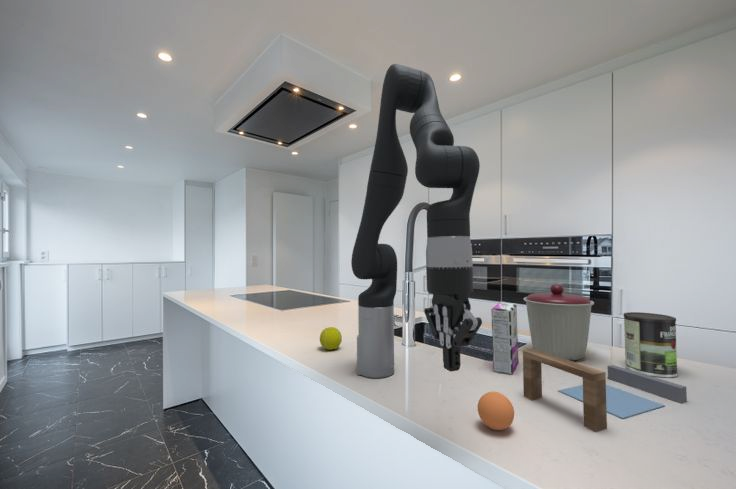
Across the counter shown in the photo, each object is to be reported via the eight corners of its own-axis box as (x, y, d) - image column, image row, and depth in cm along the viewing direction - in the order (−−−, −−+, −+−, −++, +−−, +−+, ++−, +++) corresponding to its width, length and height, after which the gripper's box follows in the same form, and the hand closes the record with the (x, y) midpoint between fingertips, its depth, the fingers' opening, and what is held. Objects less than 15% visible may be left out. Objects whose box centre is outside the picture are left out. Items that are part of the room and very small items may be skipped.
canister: (517, 357, 95) (515, 285, 96) (533, 343, 109) (531, 280, 109) (591, 371, 83) (589, 289, 84) (599, 354, 97) (597, 283, 98)
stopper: (681, 403, 65) (680, 388, 65) (607, 378, 78) (607, 366, 78) (686, 401, 66) (686, 386, 66) (613, 377, 79) (612, 365, 79)
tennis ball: (323, 353, 100) (323, 330, 100) (317, 347, 106) (317, 326, 106) (344, 350, 103) (344, 328, 103) (337, 345, 109) (337, 324, 109)
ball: (481, 436, 54) (480, 399, 54) (475, 417, 60) (474, 385, 60) (519, 438, 53) (518, 401, 54) (509, 420, 59) (508, 387, 59)
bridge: (595, 432, 55) (593, 374, 55) (523, 396, 69) (522, 350, 69) (607, 428, 56) (605, 372, 57) (534, 393, 70) (533, 348, 70)
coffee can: (686, 374, 81) (684, 317, 81) (664, 380, 77) (662, 321, 77) (638, 361, 90) (637, 310, 91) (616, 367, 86) (614, 313, 87)
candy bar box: (499, 359, 93) (498, 302, 94) (518, 362, 90) (517, 303, 91) (491, 371, 84) (490, 307, 84) (512, 375, 81) (511, 309, 81)
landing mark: (622, 419, 59) (622, 418, 59) (558, 391, 71) (557, 390, 71) (664, 406, 64) (664, 405, 64) (597, 382, 76) (597, 381, 76)
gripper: (495, 264, 49) (499, 379, 49) (444, 263, 62) (446, 355, 61) (455, 266, 47) (458, 388, 46) (409, 264, 59) (411, 360, 58)
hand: (451, 369), depth 54 cm, fingers closed
